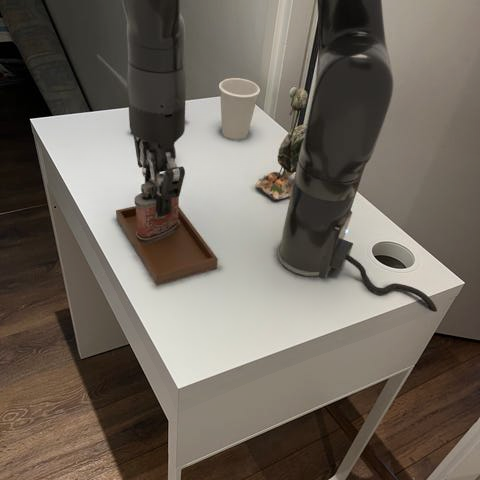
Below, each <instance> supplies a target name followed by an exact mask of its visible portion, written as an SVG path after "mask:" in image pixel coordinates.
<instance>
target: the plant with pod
mask: <svg viewBox="0 0 480 480" xmlns="http://www.w3.org/2000/svg"><path fill="white" fill-rule="evenodd" d="M307 101H308V92H307V91H306V90H305V89H303V87H300V88H296V89H295V91H294V92H293V94H292V98H291V102H290V106H291V110H290V113H289V116H290V117H291V116H292V115H293V113H294V112H296V115H295V120H294V123H293V127H292V128H291V130H290V131H289V132H288V133H287V134H286V136H285V137H284V139H283V141H282V142H281V144H280V145H279V148H278V151H277V152H278V153H277V163H278V165H279V166H281V167H280V170H279V172H278V171H271V172H270V173H268V174H266V175H263V177H262V178H259V179H258V181H257V183H256V184H255V185H254V187H255V188H256V189H261V191H262V192H264V193H265V195H267V196H269V198H270V199H271V200H275V201H277V200H281V199H282V200H283V199H285V198H288V197H290V196H291V191H292V187H293V182H294V180H293V181H292V180H290V177H291V176H293V175H294V174H295V173H296V168H297V163H298V159H299V154H300V150H301V145H302V142H303V139H304V136H305V132H306V127H307V124H300V125H298V126H297V123H298V120H299V116H300V112H302V111H304V109H305V108H306V105H307ZM282 170H283V171H282ZM281 172H282V173H281Z"/></svg>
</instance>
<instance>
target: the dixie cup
mask: <svg viewBox="0 0 480 480" xmlns="http://www.w3.org/2000/svg"><path fill="white" fill-rule="evenodd" d="M218 88H219V94H220V95H219V96H220V118H221V120H220V121H221V122H220V123H221V134H222V136H224V137H225V138H227V139H229V140H237V141H238V140H240V141H241V140H245V139H246V138H247V137H248V135H249V132H250V127H251V123H252V119H253V116H254V113H255V112H254V111H255V108H256V104H257V100H258V95H259V94H260V92H261V90H260V87H259V86H258V84H256V83H255V82H254V81H251V80H249V79H246V78H239V77H238V78H237V77H232V78H226V79H224V80H222V81H221V82H219V85H218Z"/></svg>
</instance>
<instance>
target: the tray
mask: <svg viewBox="0 0 480 480" xmlns="http://www.w3.org/2000/svg"><path fill="white" fill-rule="evenodd" d="M115 217H116V218H115V219H116V221H117V223H118V225H119V226H120V228H121V230H122V231H123V233H124V234H125V236H126V238H127V240H128V242H129V243H130V245H131V246H132V248H133V250H134V251H135V253H136V254H137V256H138V257H139V260H140V261H141V263H142V264H143V266H144V267H145V269H146V271H147V272H148V274H149V277H150V278H151V279H152V281H153V282H154V284H155V285H156V286H160V285H161V286H162V285H164V284H168V283H170V282H174V281H177V280H181V279H185V278H188V277H191V276H194V275H195V276H196V275H198V274H199V275H200V274H202V273H206V272H208V271H212V270H215V269H217V268H218V257H217V256H216V254H215V253H214V251H212V249H211V248H210V247H209V245H208V243H207V242H206V241H205V240H204V239H203V237H202V236H201V234H200V233H199V231H198V230H197V229H196V228H195V227H194V225H193V223H192V222H191V221H190V220H189V218H188V217H187V216H186V214H185V213H184V211H183V210H182V209H181V207H179V208H178V220H179V228H178V229H177V230H175V231H174V232H173V233H171V234H169V235H168V236H166V237H164V238H161V239H159V240H156V241H153V242H150V243H141V242H139V241H138V239H137V236H136V233H137V215H136V205H133V206H129V207H124V208H119V209H116V210H115Z"/></svg>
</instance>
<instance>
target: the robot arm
mask: <svg viewBox="0 0 480 480" xmlns="http://www.w3.org/2000/svg"><path fill="white" fill-rule="evenodd" d="M316 2H317V26H318V28H317V30H318V32H317V33H318V37H317V40H318V41H317V42H318V43H317V44H318V45H317V63H316V71H315V85H314V89H313V95H312V100H311V104H310V109H309V114H308V118H307V122H306V125H307V127H306V132H305V136H304V139H303V142H302V145H301V150H300V154H299V159H298V163H297V168H296V172H294V178H293V187H292V191H291V196H290V195H289V201H288V206H287V211H286V216H285V220H284V225H283V229H282V234H281V239H280V243H279V246H278V249H277V250H278V251H277V257H278V260H279V262H280V263H281V265H282V266H284V267H285V268H286V269H287V270H289V271H290V272H292V273H295V274H297V275H300V276H304V277H321V278H323V279H324V278H327V276H328V275H329V273H330V272H331V270H332V269H335V270H338V271H341V270H342V268H343V267H344V265H345V263H346V261H347V262H348V263H350V264H351V265H353V266H354V267H355V268H356V269H357V270H358V271H359V273H360V278H361V280H362V281H363V282H364V284H365V286H366V287H367V289H369V290H370V291H372V292H373V293H376V294H379V295H382V294H386V293H388V292H390V291H392V290H399V291H402V292H403V291H404V292H407V293H411V294H413V295H415V296H416V297H418V298H420V299H421V300H422V301H424V303H425V304H426V305H427V306H428V308H429V310H430V311H432V312H434V313H436V312H438V309H437V306H436V304H435V302H434V301H433V299H431V297H429V296H428V295H427V294H426V293H425V292H423V291H421V290H420V289H418V288H416V287H414V286H413V287H412V286H410V285H407V284H402V283H397V282H396V283H390V284H388V285H386V286H384V287H378V286H376V285H375V284H373V283H372V281H371V280H370V279H369V277H368V274H367V271H366V268H365V267H364V265H362V263H360V261H358V260H357V259H356V258H354V257H352V255H350V254H351V251H352V250H353V246H354V242H351V241H349V240H346V239H345V237H346V236H345V235H346V234H347V233H348V232H349V230H348V227H349V224H350V221H351V218H352V215H353V210H352V207H353V204H354V201H355V199H356V195H357V192H358V189H359V185H360V183H361V180H362V177H363V174H364V171H365V168H366V165H367V164H368V162H369V161H370V160H371V158H372V156H373V153H374V151H375V149H376V145H377V143H378V140H379V138H380V135H381V132H382V129H383V126H384V124H385V120H386V118H387V115H388V113H389V109H390V106H391V102H392V98H393V94H394V87H395V86H394V85H395V84H394V83H395V82H394V75H393V70H392V65H391V59H390V55H389V51H388V45H387V41H386V39H387V38H386V32H385V23H384V13H383V11H384V10H383V0H316ZM121 3H122V8H123V11H124V15H125V18H126V44H127V46H126V47H127V73H126V84H127V103H128V104H127V105H128V120H129V121H128V122H129V130H130V133H131V132H132V133H133V134H132V136H133V142H134V148H135V154H136V160H137V166H138V168H139V169H140V168H141V175H142V177H143V178H144V183H147V182H148V181H149V179H150V178H152V180H154V181H155V186H156V212H157V214H158V215H159V216H164V215H168V214H170V213H171V204H172V198H174V197H179V198H180V195H181V191H182V186H183V184H184V179H185V176H186V170H185V167H184V166H182V165H181V166H178V165H177V163H176V158H177V153H176V147H175V144H174V143H176V142H177V141H178V140H179V139H180V138H182V136H184V133H185V129H186V127H185V126H186V95H187V79H186V70H185V69H186V65H185V61H186V25H185V19H184V17H183V15H182V14H181V0H121ZM162 181H163V185H162V188H161V182H162Z"/></svg>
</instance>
